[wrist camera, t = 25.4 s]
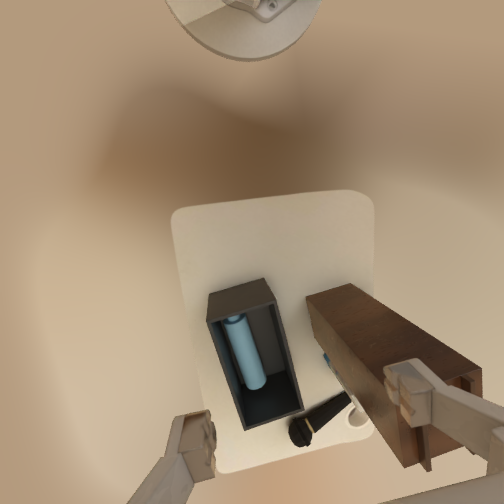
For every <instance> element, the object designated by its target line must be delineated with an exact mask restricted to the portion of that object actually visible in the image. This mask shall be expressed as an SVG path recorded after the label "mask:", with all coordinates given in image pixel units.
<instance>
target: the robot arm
mask: <svg viewBox="0 0 504 504" xmlns="http://www.w3.org/2000/svg"><path fill="white" fill-rule="evenodd" d="M222 1H223V2H224V3H226V4H228V5H229V6H232V7H234V8H237V9H240V10H244V11H247V12H249V13H251V14H252V15H253V16H254V17H256V18H257V19H258V20H259V21H261V22H263V23H269V22H271V21H272V20H273V19H274V18H276V17H277V16H278V15H279V14H281V13H282V12H283V11H284V10H286V9H287V8H288V7H289V6H291V5H292V4H293V3H294V2H296V1H297V0H222ZM270 6H272V7H273V8H274V9H270ZM383 373H384V374H385V376H386V378H385V379H384V387H385V390H386V393H387V395H388V396H389V398H390V400H391V401H392V402H393V404H395V405H397V406H399V407H400V413H401V415H402V416H403V417H404V419H405V420H406V421H407V423H408V424H409V425H410V427H411V428H414V427H418V426H423V425H427V424H432V425H433V426H434V427H436V428H437V429H439V430H441V431H442V432H444V433H445V434H447V435H448V436H450V437H451V438H453V439H454V440H456V441H457V442H459V443H460V444H462V445H463V446H465V447H466V448H468V449H469V450H471V451H473V452H474V453H476V454H477V455H479V456H480V457H482V458H483V459H485V460H486V461H488V464H487V473H486V476H483V477H479V478H476V479H471V480H468V481H464V482H460V483H456V484H452V485H449V486H445V487H441V488H437V489H433V490H429V491H426V492H421V493H418V494H414V495H410V496H407V497H402V498H398V499H395V500H391V501H387V502H383V503H379V504H504V407H502V406H499V405H497V404H494V403H492V402H490V401H487V400H485V399H483V398H480V397H478V396H476V395H473V394H471V393H468V392H466V391H464V390H461V389H459V388H457V387H454V386H452V385H450V386H447V385H446V384H445V383H444V382H443V381H442V380H441V379H440V378H439V377H438V376H437V375H436V374H434V373H433V372H432V371H431V370H430V369H429V368H428V367H427V366H426V365H425V364H424V363H423V362H421V361H420V360H419V359H417V358H414V359H410V360H406V361H401V362H397V363H393V364H390V365H386V366H384V367H383ZM216 444H217V438H216V429H215V425H214V422H212V421H211V414H210V411H209V410H203V411H199V412H194V413H189V414H186V415H181V416H176V417H175V418H174V420H173V422H172V426H171V430H170V435H169V439H168V443H167V447H166V451H165V455H164V457H161V458H160V459H159V461H158V462H157V463H156V465H155V466H154V467H153V469H152V470H151V472H150V473H149V474H148V475H147V477H146V478H145V480H144V481H143V482H142V484H141V485H140V487H139V488H138V489H137V490H136V492H135V493H134V495H133V496H132V497H131V499H130V500H129V501H128V503H127V504H186V502H187V500H188V497H189V495H190V493H191V491H192V489H193V487H194V483H198V482H201V481H205V480H208V479H212V478H214V477H215V464H216V458H215V456H214V451H215V449H216Z"/></svg>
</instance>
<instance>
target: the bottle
mask: <svg viewBox="0 0 504 504" xmlns="http://www.w3.org/2000/svg"><path fill="white" fill-rule="evenodd" d="M223 323H224V326H225V329H226V331H227V334H228V337H229V340H230V342H231V345H232V348H233V351H234V353H235V356H236V359H237V362H238V364H239V367H240V370H241V373H242V375H243V378H244V381H245V384H246V386H247V387H248V388H249V389H251V390H256V389H259V388H261V387H262V386H263V385H264V384H265V382H266V375H265V372H264V369H263V366H262V363H261V360H260V357H259V354H258V351H257V348H256V345H255V342H254V339H253V336H252V333H251V330H250V327H249V324H248V321H247V318H246V315H245V313H242V314H239V315H236V316H233V317H229V318H226V319H224V320H223Z"/></svg>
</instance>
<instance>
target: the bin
mask: <svg viewBox="0 0 504 504" xmlns="http://www.w3.org/2000/svg"><path fill="white" fill-rule="evenodd" d="M242 313H245V315H246V318H247V321H248V324H249V327H250V330H251V333H252V336H253V339H254V342H255V345H256V348H257V351H258V354H259V357H260V360H261V363H262V366H263V369H264V372H265V375H266V382H265V384H264V385H263V386H262V387H261V388H259V389H256V390H251V389H249V388H248V387H247V386H246V384H245V381H244V378H243V375H242V373H241V370H240V367H239V364H238V362H237V359H236V356H235V353H234V351H233V348H232V345H231V342H230V340H229V337H228V334H227V331H226V329H225V326H224V323H223V320H224V319H226V318H229V317H233V316H236V315H239V314H242ZM206 322H207V325H208V328H209V331H210V334H211V337H212V340H213V342H214V345H215V348H216V351H217V354H218V357H219V360H220V363H221V365H222V368H223V371H224V374H225V377H226V380H227V383H228V386H229V388H230V391H231V394H232V397H233V400H234V403H235V406H236V409H237V411H238V414H239V417H240V420H241V423H242V426H243V429H244V431H246V430H249V429H251V428H254V427H257V426H260V425H263V424H266V423H269V422H272V421H275V420H278V419H281V418H283V417H286V416H289V415H292V414H295V413H298V412H301V411H304V410H305V409H304V405H303V402H302V398H301V394H300V390H299V386H298V382H297V378H296V374H295V371H294V367H293V363H292V359H291V355H290V351H289V347H288V343H287V340H286V336H285V332H284V328H283V324H282V320H281V316H280V312H279V309H278V305H277V301H276V299H275V297H274V295H273V293H272V291H271V290H270V288H269V286H268V284H267V283H266V281H265V279H264V278H261V279H258V280H255V281H251V282H248V283H245V284H241V285H238V286H235V287H231V288H228V289H225V290H221V291H218V292H215V293H211V294H209V299H208V308H207V318H206Z"/></svg>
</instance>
